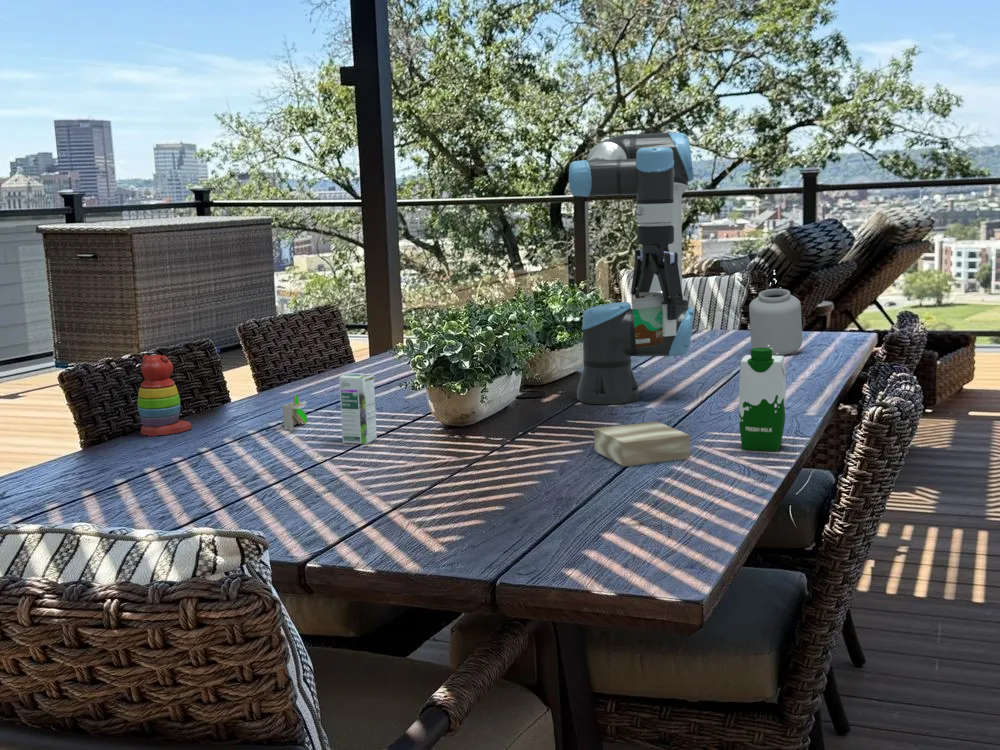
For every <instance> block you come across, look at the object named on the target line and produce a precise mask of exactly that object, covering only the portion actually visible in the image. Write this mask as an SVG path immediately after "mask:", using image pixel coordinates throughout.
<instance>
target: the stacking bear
mask: <svg viewBox="0 0 1000 750" xmlns="http://www.w3.org/2000/svg"><path fill="white" fill-rule="evenodd" d="M140 369H141V374H142V376H143V378H144V380H143V381H142V382H141V384H140V387H139V388H138V396H137V404H136V406H137V411H138V414H139V419H140V421H141V424H142V425H141V428H140V435H143V436H145V435H148V436H147V437H159V436H158V435H164V436H170V435H169V434H171V435H175V434H174V433H177V434H180V433H179V432H181V433H184V432H183V431H185V432H187V431H186V430H188V431H190V430H189V429H191V428H192V429H193V425H192V424H191V422H189V421H187V420H186V421H185V420H180V413H181V398H180V394H179V390H178V388H177V385H176V384H175V381H174V380H173V379H172V378H170V377H171V375H172V374H173V371H174V365H173V363H172V361H171V360H170V359H169V358H168V357H167V355H163V354H162V355H161V354H153V355H149V354H145V355H143V356H142V364H141V368H140ZM192 429H191V430H192Z"/></svg>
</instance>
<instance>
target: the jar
mask: <svg viewBox="0 0 1000 750" xmlns="http://www.w3.org/2000/svg"><path fill="white" fill-rule="evenodd" d="M775 271H776V270H775V269H774V270H773V275H776V272H775ZM773 281H775V282H774V283H777V281H778V280H776V278H773ZM771 284H772V282H770V284H769V287H770V286H771ZM757 295H758V296H757V297H755V298H754V299H752V300H751V302H750V303H749V308H748V309H749V313H748V314H749V327H750V328H749V329H750V330H749V331H750V343H751V345H750V346H751V349H754V348H769V349H772V356H786V355H790V354H793V353H795V352H796V351H798V350H799V349H801V347H802V345H803V328H802V324H803V323H802V305H801V300H800V299H798V297H796V296H794V295H792V294H791V291H790V290H789V289H785V288H782V287H779V288H770V289H769V288H768V289H765V290H762V291H759V293H758V294H757Z"/></svg>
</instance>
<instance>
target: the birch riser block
mask: <svg viewBox="0 0 1000 750" xmlns="http://www.w3.org/2000/svg"><path fill="white" fill-rule="evenodd" d="M593 435H594V436H593V437H594V438H593V441H594V442H593V445H594V447H593V448H594V449H593V450H594V452H596V453H598V454H600V455H602V456H604V457H605V458H607V459H609V460H611V461H613V462H615V463H616V464H618V465H620V466H622V467H632V466H641V465H649V464H657V463H664V462H671V461H680V460H681V461H682V460H689V459H691V435H690V434H688V433H686V432H683V431H681V430H679V429H677V428H674V427H672V426H669V425H666V424H665V423H661V422H659V421H648V422H640V423H629V424H622V425H621V424H620V425H613V426H604V427H594V428H593Z"/></svg>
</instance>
